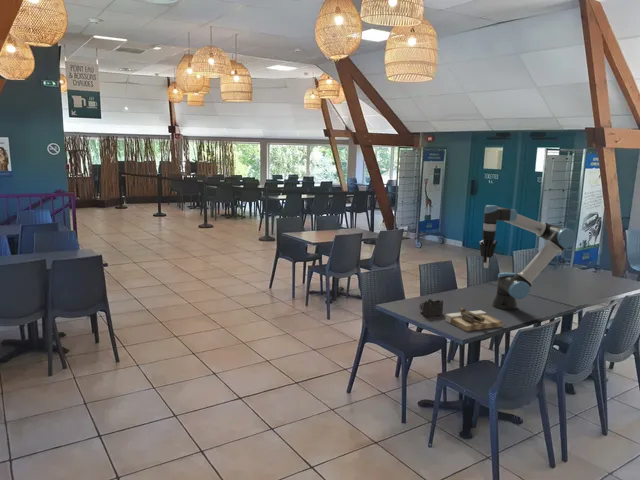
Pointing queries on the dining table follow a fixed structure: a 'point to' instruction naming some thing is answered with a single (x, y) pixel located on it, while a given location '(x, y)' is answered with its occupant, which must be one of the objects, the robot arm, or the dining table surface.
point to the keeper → (468, 318)
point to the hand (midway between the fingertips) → (485, 267)
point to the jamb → (456, 315)
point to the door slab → (476, 323)
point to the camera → (432, 307)
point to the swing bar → (473, 315)
